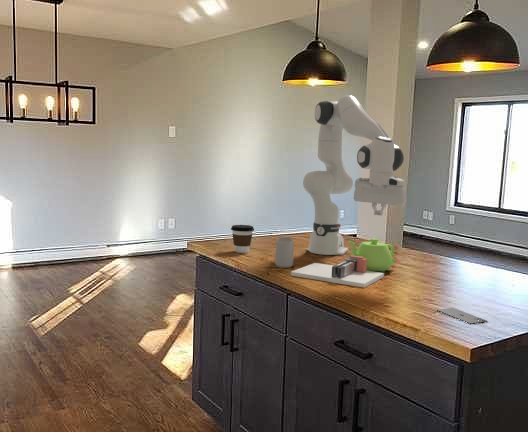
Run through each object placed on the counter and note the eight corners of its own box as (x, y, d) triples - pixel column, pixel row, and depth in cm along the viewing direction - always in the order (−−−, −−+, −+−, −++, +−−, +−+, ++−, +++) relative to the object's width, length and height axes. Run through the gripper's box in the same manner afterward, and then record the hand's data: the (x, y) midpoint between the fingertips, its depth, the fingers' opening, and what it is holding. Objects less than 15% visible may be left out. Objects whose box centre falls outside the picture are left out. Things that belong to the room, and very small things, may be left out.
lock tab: (351, 268, 228) (351, 255, 227) (366, 271, 225) (367, 257, 224) (348, 270, 225) (349, 256, 225) (363, 272, 222) (364, 258, 221)
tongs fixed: (348, 268, 229) (348, 257, 228) (359, 270, 226) (359, 258, 226) (329, 276, 213) (330, 264, 212) (341, 278, 210) (342, 266, 210)
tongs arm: (344, 270, 224) (345, 260, 224) (348, 270, 224) (348, 261, 223) (331, 276, 212) (332, 266, 212) (335, 277, 211) (335, 267, 211)
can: (291, 269, 231) (292, 240, 230) (273, 267, 233) (274, 238, 231) (294, 265, 238) (295, 237, 237) (276, 264, 240) (277, 236, 238)
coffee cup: (258, 252, 263) (258, 227, 262) (238, 254, 257) (238, 228, 256) (245, 248, 272) (246, 224, 271) (225, 250, 266) (226, 225, 265)
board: (314, 266, 238) (315, 262, 238) (383, 276, 223) (384, 273, 223) (290, 275, 219) (290, 271, 219) (364, 287, 204) (364, 283, 204)
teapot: (353, 274, 225) (355, 242, 224) (338, 266, 240) (340, 236, 238) (402, 273, 231) (404, 241, 230) (385, 265, 246) (387, 235, 244)
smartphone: (453, 307, 182) (489, 320, 168) (453, 309, 182) (489, 323, 168) (435, 309, 178) (470, 323, 165) (435, 311, 179) (470, 326, 165)
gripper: (352, 177, 220) (350, 212, 222) (404, 181, 210) (401, 218, 212) (358, 177, 225) (355, 211, 227) (409, 181, 215) (406, 217, 217)
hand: (378, 215), depth 219 cm, fingers closed
